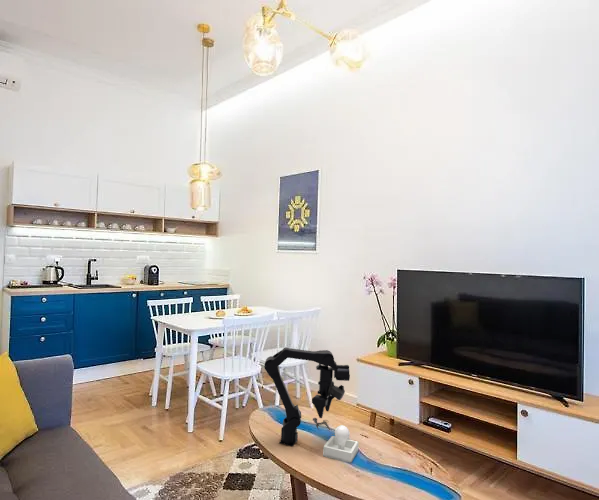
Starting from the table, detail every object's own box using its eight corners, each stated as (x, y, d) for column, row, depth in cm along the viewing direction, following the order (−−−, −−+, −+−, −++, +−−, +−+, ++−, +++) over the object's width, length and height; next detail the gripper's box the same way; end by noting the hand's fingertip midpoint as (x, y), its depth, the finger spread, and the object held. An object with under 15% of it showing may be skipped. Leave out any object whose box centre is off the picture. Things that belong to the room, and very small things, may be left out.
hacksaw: (312, 419, 214) (312, 417, 214) (331, 419, 216) (331, 416, 216) (323, 440, 190) (324, 437, 190) (345, 440, 192) (345, 436, 192)
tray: (323, 456, 174) (323, 446, 174) (331, 444, 185) (332, 435, 186) (350, 463, 170) (351, 453, 170) (358, 450, 181) (358, 441, 181)
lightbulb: (338, 456, 173) (340, 429, 173) (330, 449, 179) (332, 423, 179) (351, 453, 176) (352, 427, 176) (343, 447, 182) (344, 422, 182)
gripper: (337, 388, 175) (335, 425, 175) (348, 377, 192) (347, 411, 192) (312, 383, 179) (310, 420, 179) (326, 373, 196) (324, 406, 196)
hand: (324, 414), depth 186 cm, fingers open, 9 cm apart
